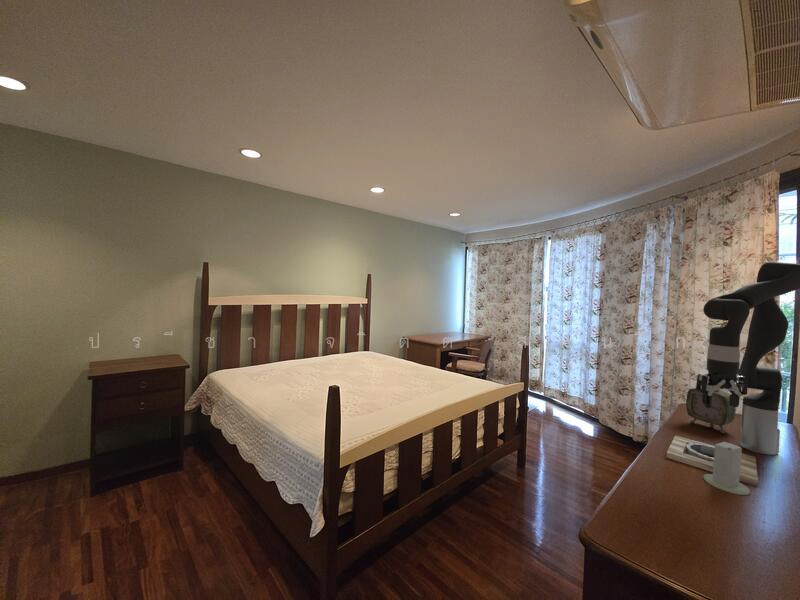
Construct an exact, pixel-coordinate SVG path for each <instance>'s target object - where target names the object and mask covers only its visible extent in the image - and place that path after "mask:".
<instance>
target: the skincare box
mask: <svg viewBox="0 0 800 600" xmlns="http://www.w3.org/2000/svg"><path fill="white" fill-rule="evenodd" d="M714 446H715V452H714V456H713V458H714V464H713V472H712V474H713V478H712V480H713V481H714V482H716V483H718V484H721V485H723V486H725V487H728V488H730V487H733V486H735V485H738V484H739V483H740V481H739V480H740V465H741V453H743V452H742V450H743V449H742V448H743V447H742V446H739V445H736V444H732V443H730V442H726V441H722V442H720V443H716V444H715V445H714Z"/></svg>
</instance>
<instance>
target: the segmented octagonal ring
mask: <svg viewBox="0 0 800 600" xmlns="http://www.w3.org/2000/svg"><path fill="white" fill-rule="evenodd" d="M712 446H713V445H712ZM712 446H708V445H703V444H695V443H690V444H687V445H686V450H685V454H688V455H691V456H694V457H698V458H701V459H704V460H708V461H711V462H714V452H715V447H712ZM705 454H706V455H705ZM708 455H711V456H713V457H710V456H708Z"/></svg>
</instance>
